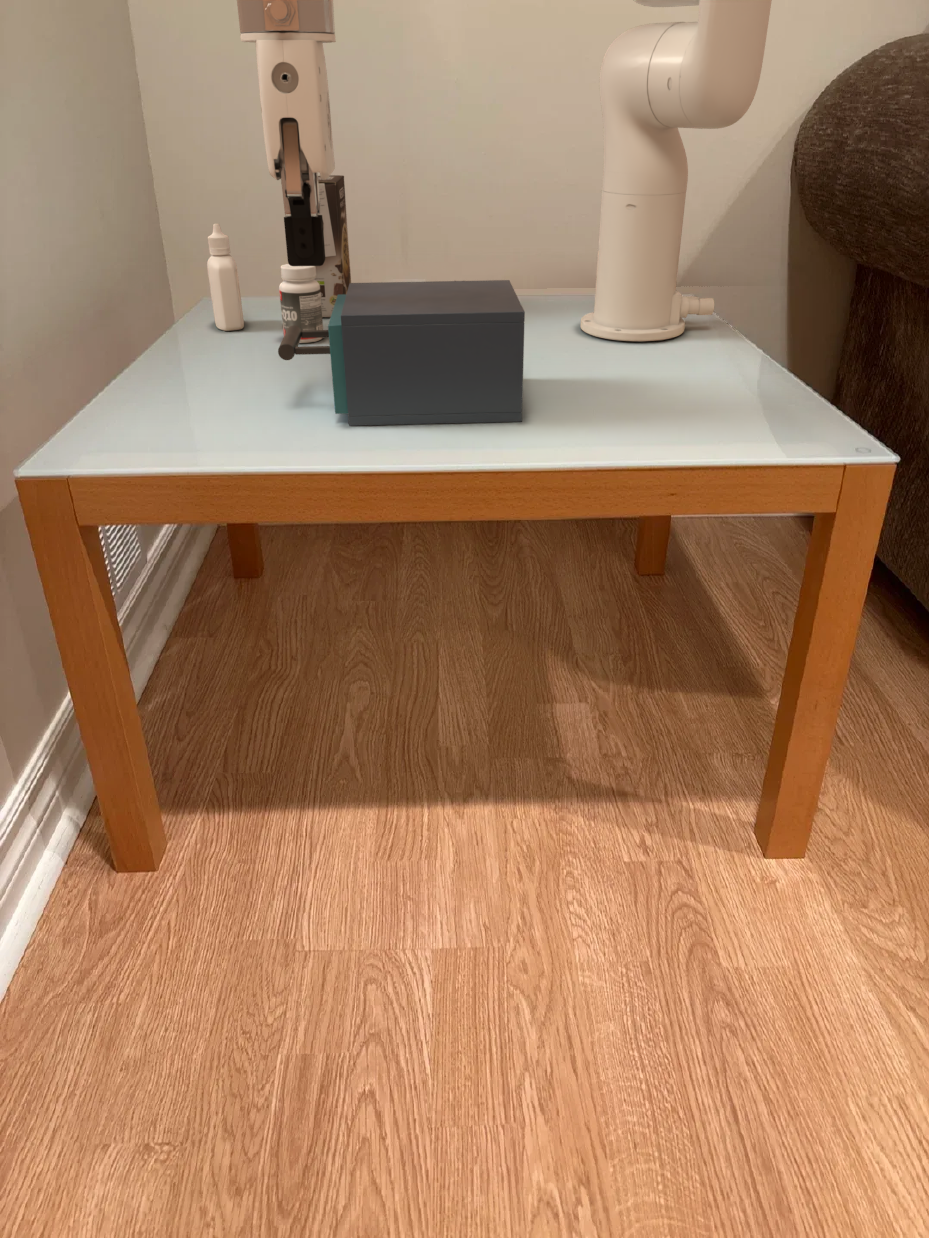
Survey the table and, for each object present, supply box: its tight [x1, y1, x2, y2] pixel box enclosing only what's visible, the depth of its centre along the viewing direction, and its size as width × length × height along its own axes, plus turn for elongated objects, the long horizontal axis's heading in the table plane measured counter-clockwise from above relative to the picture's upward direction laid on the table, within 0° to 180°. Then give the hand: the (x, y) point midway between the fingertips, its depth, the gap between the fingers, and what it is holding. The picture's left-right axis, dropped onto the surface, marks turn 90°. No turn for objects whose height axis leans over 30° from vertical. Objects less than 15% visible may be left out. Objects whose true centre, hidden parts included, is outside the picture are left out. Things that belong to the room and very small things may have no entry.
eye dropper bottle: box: [206, 223, 245, 332], centre depth 113 cm, size 4×6×12 cm
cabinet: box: [341, 279, 526, 427], centre depth 87 cm, size 16×14×10 cm
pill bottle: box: [278, 263, 324, 344], centre depth 108 cm, size 5×5×8 cm
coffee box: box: [314, 174, 352, 318], centre depth 119 cm, size 9×6×16 cm
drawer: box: [277, 294, 348, 415], centre depth 87 cm, size 20×13×8 cm, turn 93°
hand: (307, 264), depth 82 cm, fingers closed
